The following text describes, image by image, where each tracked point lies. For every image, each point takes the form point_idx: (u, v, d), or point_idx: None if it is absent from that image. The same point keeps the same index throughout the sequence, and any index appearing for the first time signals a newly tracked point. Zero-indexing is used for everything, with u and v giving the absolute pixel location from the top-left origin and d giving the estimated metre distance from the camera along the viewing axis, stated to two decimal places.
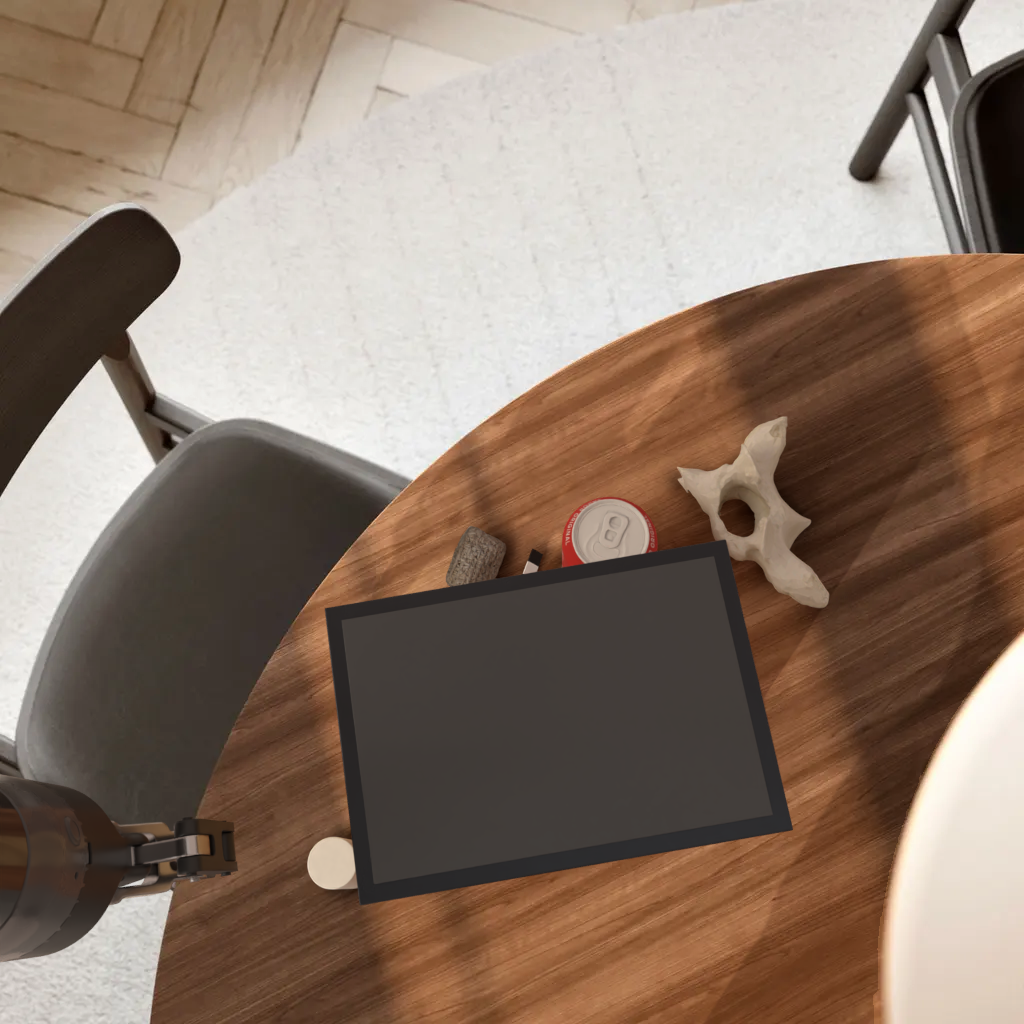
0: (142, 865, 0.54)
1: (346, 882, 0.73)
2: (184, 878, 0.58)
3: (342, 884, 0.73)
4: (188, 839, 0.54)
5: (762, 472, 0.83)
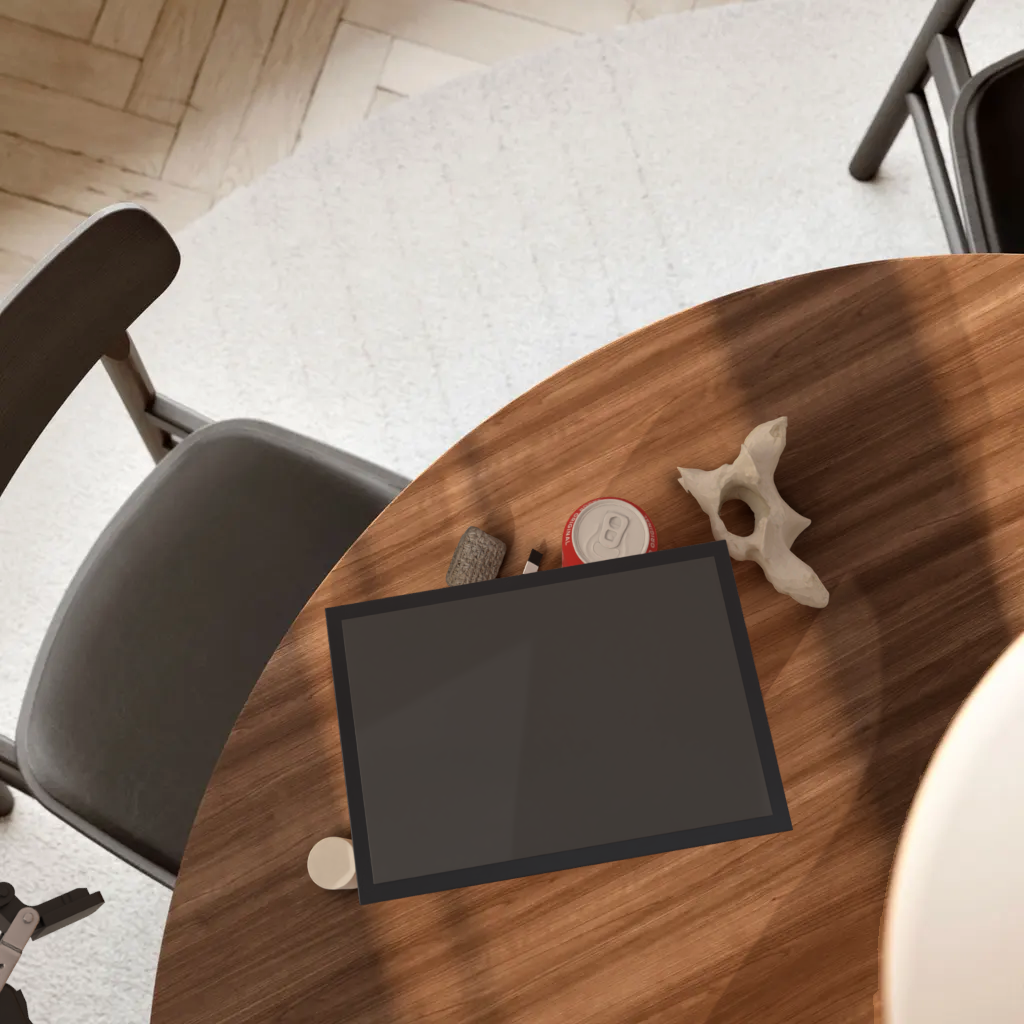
0: None
1: (346, 882, 0.73)
2: (9, 930, 0.61)
3: (342, 884, 0.73)
4: None
5: (762, 472, 0.83)
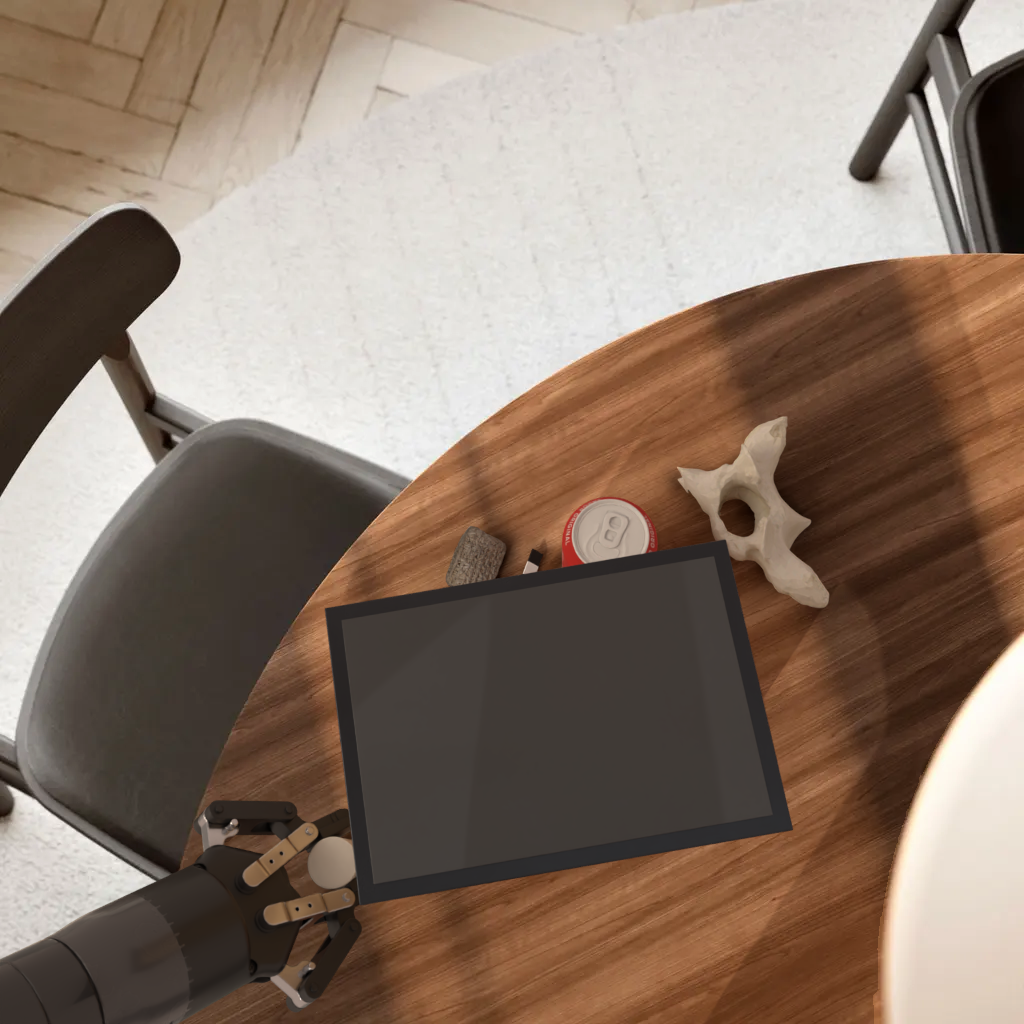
0: None
1: (346, 882, 0.73)
2: (293, 833, 0.73)
3: (342, 884, 0.73)
4: (200, 816, 0.72)
5: (762, 472, 0.83)
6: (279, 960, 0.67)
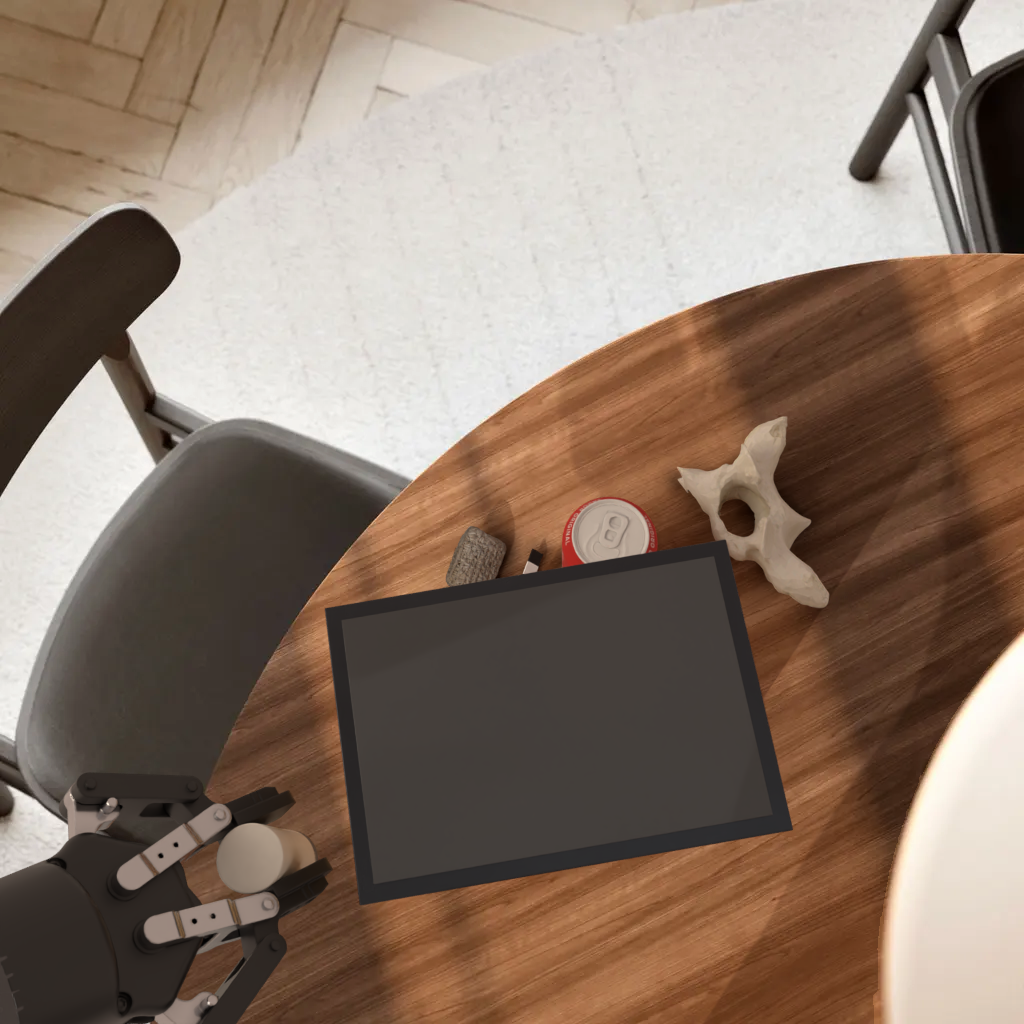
0: None
1: (268, 884, 0.54)
2: (196, 817, 0.54)
3: (262, 887, 0.54)
4: (66, 795, 0.53)
5: (762, 472, 0.83)
6: (165, 993, 0.48)
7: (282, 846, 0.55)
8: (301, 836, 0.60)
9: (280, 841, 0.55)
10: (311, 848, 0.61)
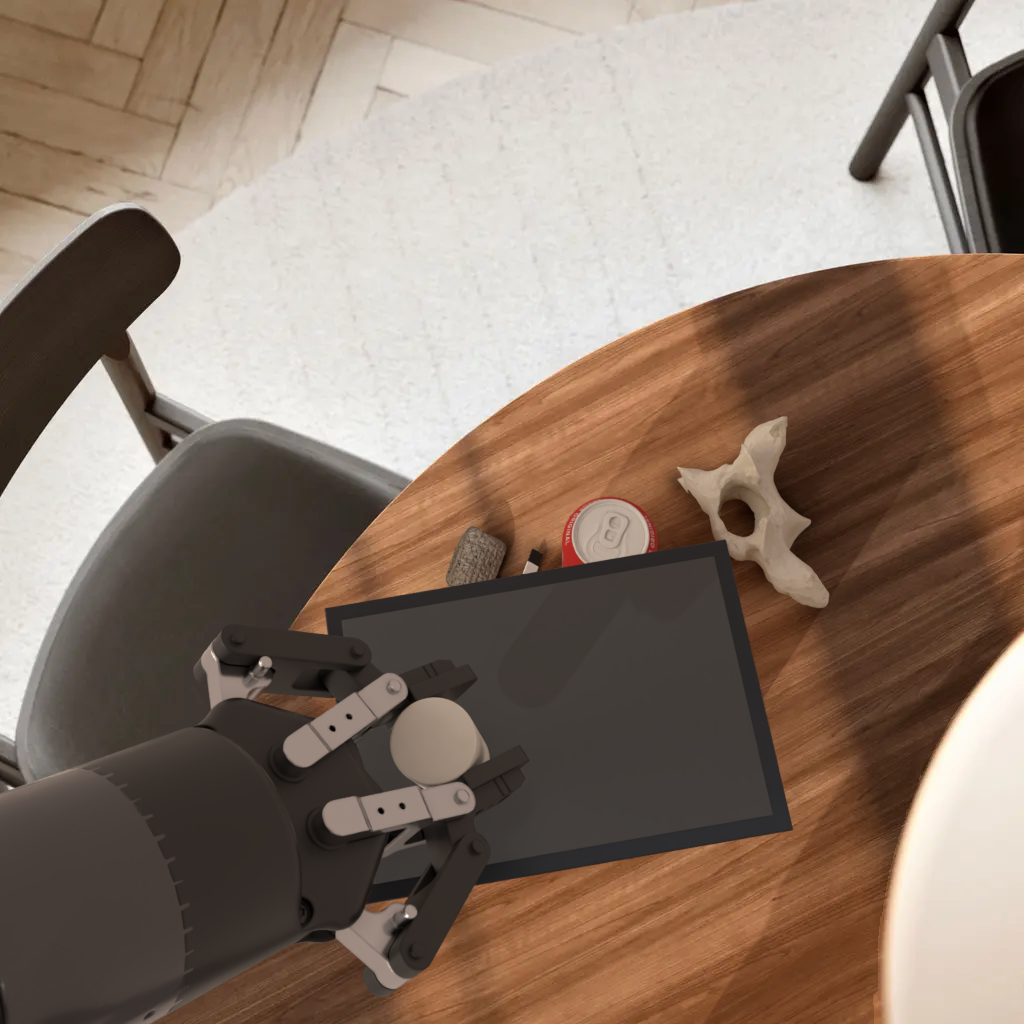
0: None
1: (459, 773, 0.42)
2: (367, 687, 0.42)
3: (452, 776, 0.42)
4: (205, 655, 0.41)
5: (762, 472, 0.83)
6: (352, 900, 0.36)
7: (474, 726, 0.43)
8: None
9: (471, 720, 0.43)
10: (485, 744, 0.49)
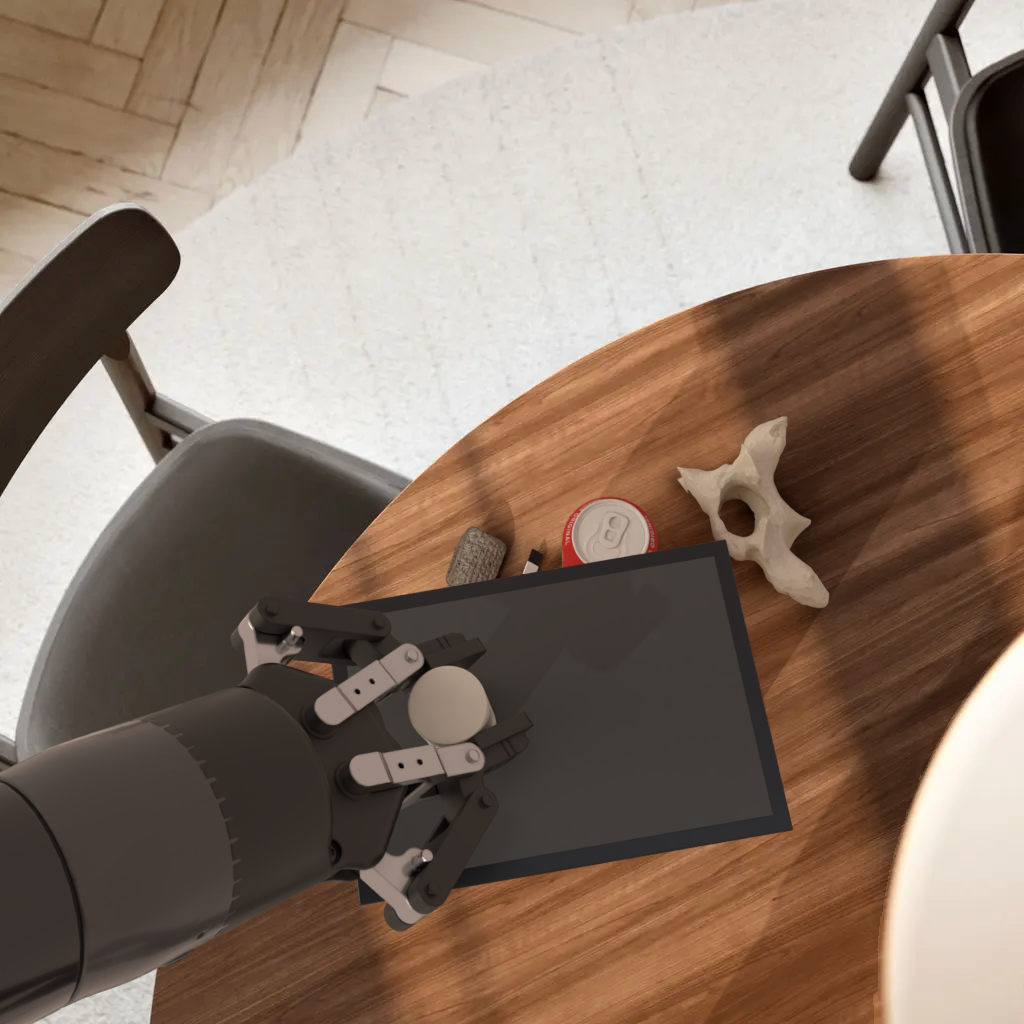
0: None
1: (470, 734, 0.46)
2: (387, 656, 0.46)
3: (464, 737, 0.46)
4: None
5: (762, 472, 0.83)
6: (376, 843, 0.41)
7: (484, 692, 0.47)
8: None
9: (482, 687, 0.47)
10: None
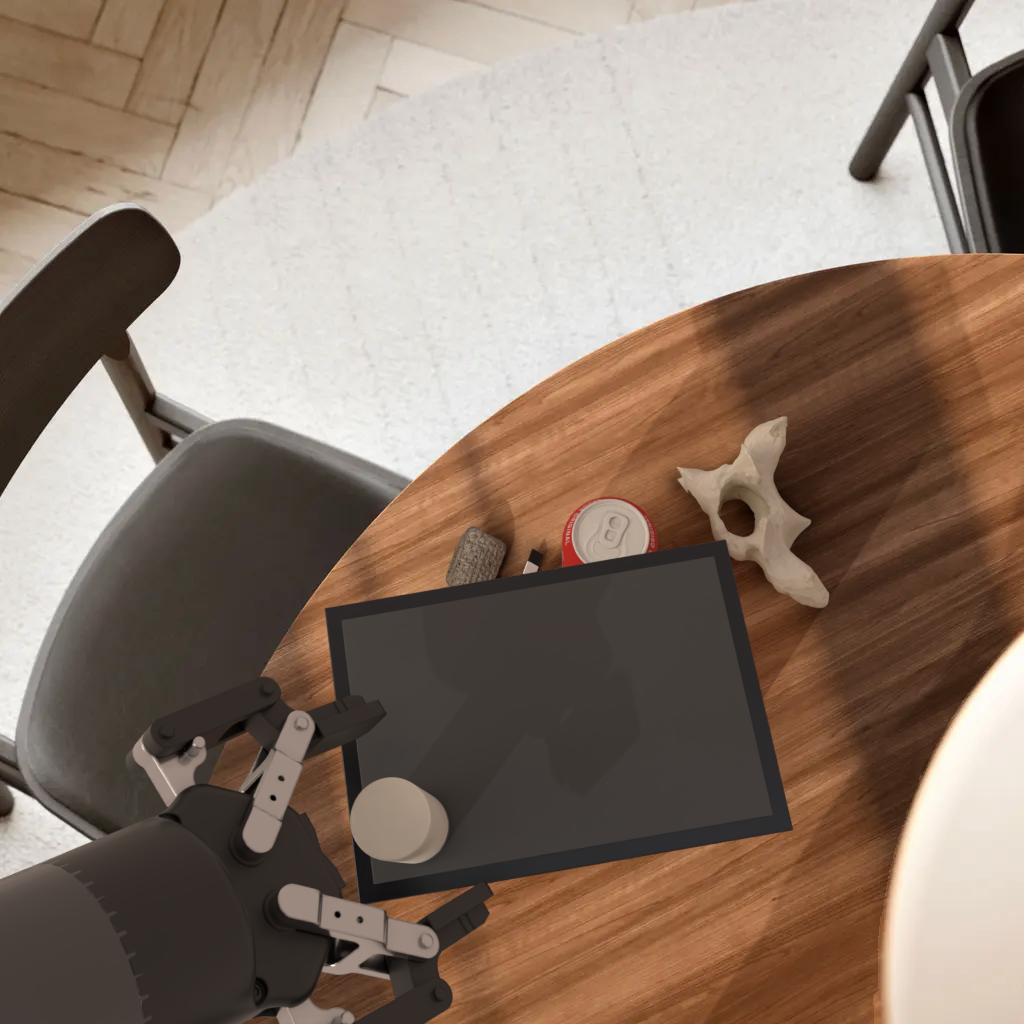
0: None
1: (413, 849, 0.45)
2: (280, 736, 0.45)
3: (407, 853, 0.45)
4: (136, 752, 0.42)
5: (762, 472, 0.83)
6: (299, 982, 0.39)
7: (428, 805, 0.46)
8: (434, 797, 0.52)
9: (426, 799, 0.46)
10: (444, 811, 0.52)
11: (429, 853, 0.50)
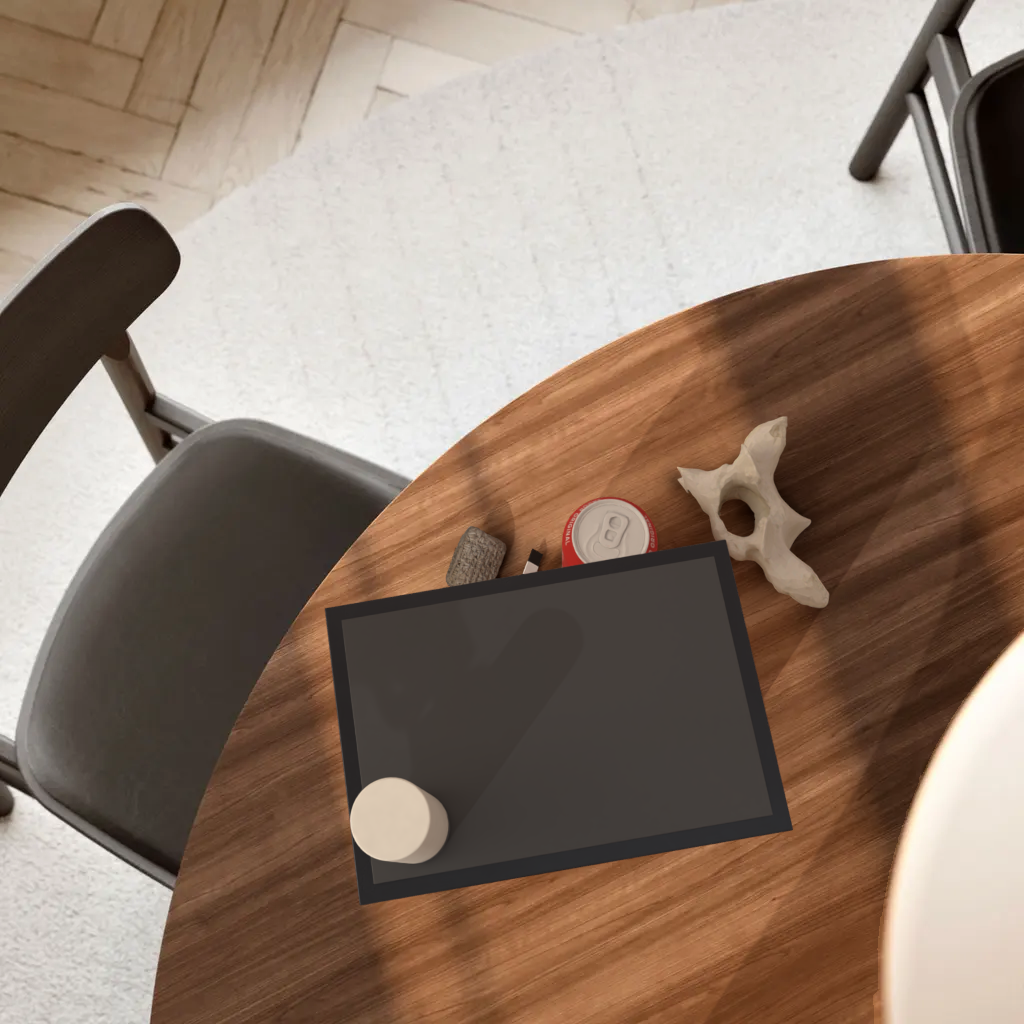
0: None
1: (413, 849, 0.45)
2: None
3: (407, 853, 0.45)
4: None
5: (762, 472, 0.83)
6: None
7: (428, 805, 0.46)
8: (434, 797, 0.52)
9: (426, 799, 0.46)
10: (444, 811, 0.52)
11: (429, 853, 0.50)
